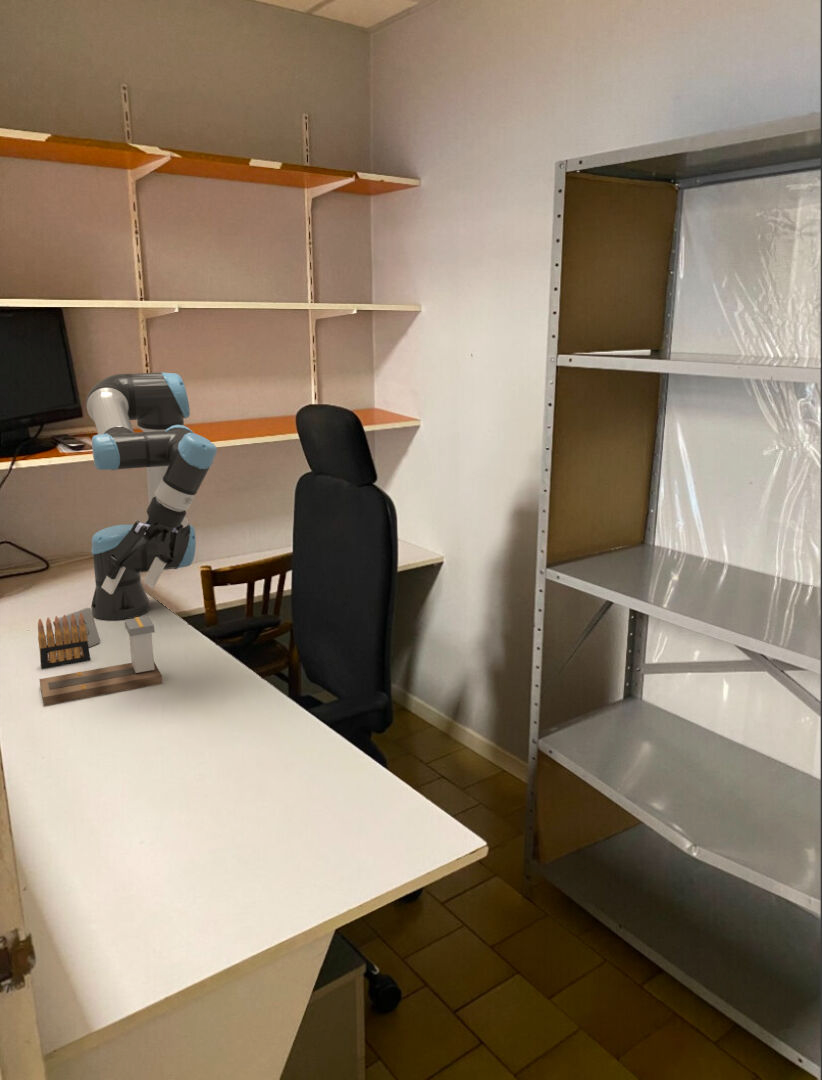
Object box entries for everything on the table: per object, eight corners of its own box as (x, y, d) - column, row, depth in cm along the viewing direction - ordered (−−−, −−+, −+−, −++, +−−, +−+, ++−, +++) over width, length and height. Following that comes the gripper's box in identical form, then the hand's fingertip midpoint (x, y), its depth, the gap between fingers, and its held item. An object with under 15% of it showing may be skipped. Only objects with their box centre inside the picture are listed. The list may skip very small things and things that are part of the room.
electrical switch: (70, 656, 196) (63, 619, 195) (55, 654, 199) (48, 617, 197) (101, 643, 204) (95, 607, 202) (87, 641, 207) (81, 606, 205)
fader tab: (152, 659, 188) (148, 615, 185) (157, 670, 183) (154, 624, 180) (128, 664, 186) (124, 619, 183) (133, 674, 180) (129, 628, 177)
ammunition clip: (41, 669, 189) (35, 620, 186) (40, 666, 191) (34, 618, 188) (90, 660, 194) (85, 612, 191) (89, 658, 196) (84, 610, 193)
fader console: (153, 666, 190) (152, 658, 190) (162, 683, 182) (161, 674, 181) (40, 687, 180) (39, 678, 179) (44, 706, 171) (42, 696, 171)
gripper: (145, 513, 161) (100, 603, 165) (216, 512, 184) (176, 591, 189) (118, 493, 163) (74, 583, 167) (192, 495, 186) (152, 573, 191)
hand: (128, 587), depth 178 cm, fingers open, 13 cm apart
